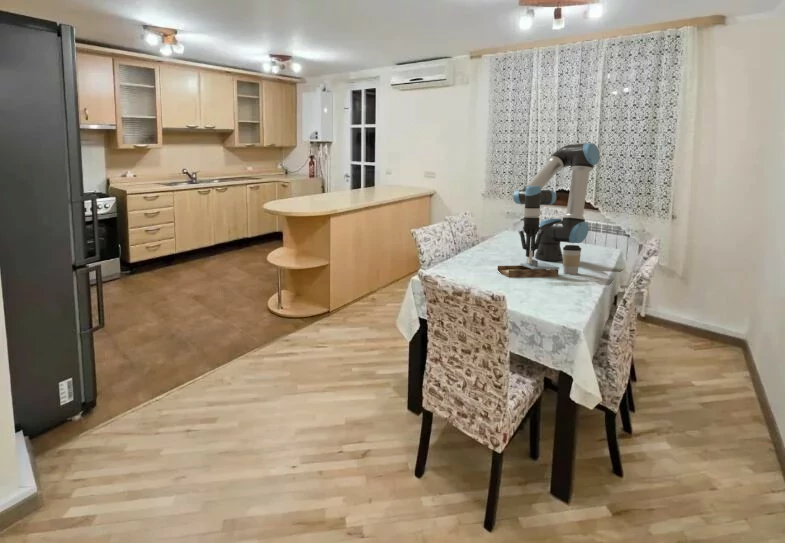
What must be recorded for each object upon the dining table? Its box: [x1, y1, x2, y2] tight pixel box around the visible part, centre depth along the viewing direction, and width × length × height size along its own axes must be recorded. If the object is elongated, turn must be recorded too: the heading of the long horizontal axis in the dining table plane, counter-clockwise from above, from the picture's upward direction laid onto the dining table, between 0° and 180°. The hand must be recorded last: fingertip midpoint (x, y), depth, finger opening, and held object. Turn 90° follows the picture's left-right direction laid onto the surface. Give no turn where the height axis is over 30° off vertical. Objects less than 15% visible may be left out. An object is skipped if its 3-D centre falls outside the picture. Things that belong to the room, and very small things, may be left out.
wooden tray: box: [497, 264, 560, 278], centre depth 246 cm, size 26×16×4 cm, turn 99°
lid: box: [519, 258, 560, 270], centre depth 246 cm, size 14×16×4 cm
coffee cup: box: [562, 244, 582, 276], centre depth 248 cm, size 9×9×15 cm
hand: (529, 263), depth 245 cm, fingers closed
